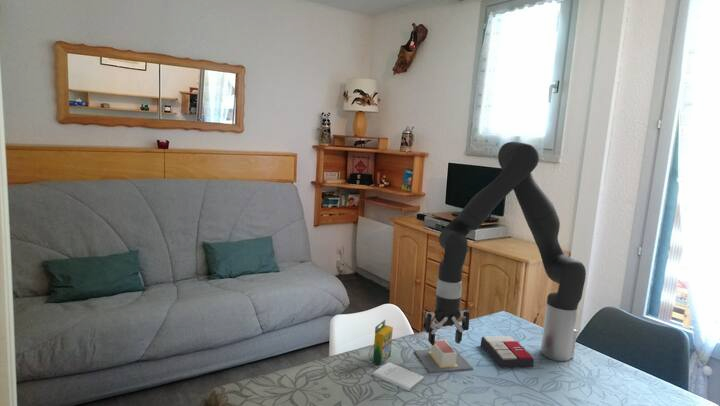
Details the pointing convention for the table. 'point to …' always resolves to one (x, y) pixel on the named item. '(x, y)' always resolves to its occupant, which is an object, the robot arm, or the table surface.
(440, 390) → the table surface
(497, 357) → the calculator
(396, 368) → the external hard drive
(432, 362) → the rubber mat
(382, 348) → the crayon box
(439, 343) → the card deck
